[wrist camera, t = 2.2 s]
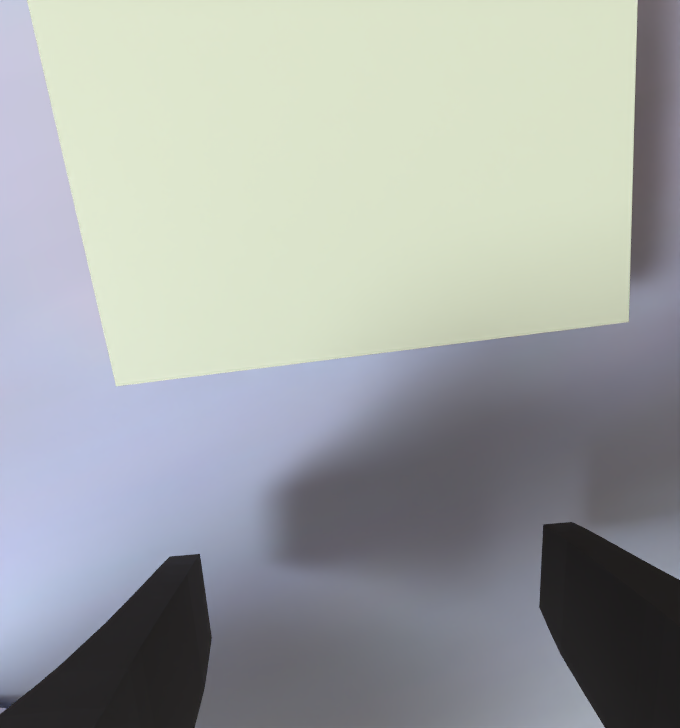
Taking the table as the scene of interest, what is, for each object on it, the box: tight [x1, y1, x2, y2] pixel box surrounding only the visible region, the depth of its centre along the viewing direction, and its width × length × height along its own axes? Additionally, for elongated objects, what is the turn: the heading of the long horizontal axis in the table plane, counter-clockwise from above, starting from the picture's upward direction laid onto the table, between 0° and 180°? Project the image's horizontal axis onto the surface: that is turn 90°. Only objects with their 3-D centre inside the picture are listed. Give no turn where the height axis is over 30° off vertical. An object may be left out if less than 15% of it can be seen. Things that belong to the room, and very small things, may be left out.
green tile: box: [27, 0, 638, 386], centre depth 10 cm, size 6×9×3 cm, turn 96°
